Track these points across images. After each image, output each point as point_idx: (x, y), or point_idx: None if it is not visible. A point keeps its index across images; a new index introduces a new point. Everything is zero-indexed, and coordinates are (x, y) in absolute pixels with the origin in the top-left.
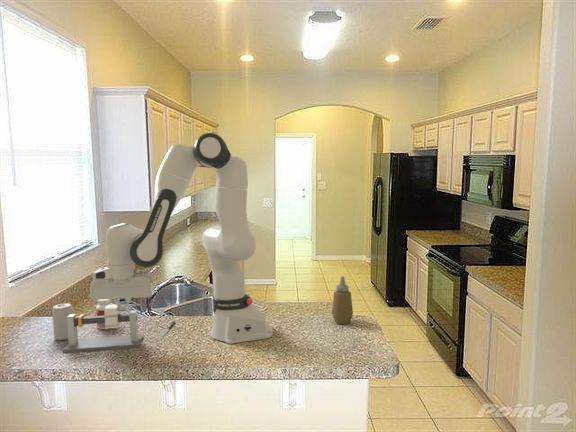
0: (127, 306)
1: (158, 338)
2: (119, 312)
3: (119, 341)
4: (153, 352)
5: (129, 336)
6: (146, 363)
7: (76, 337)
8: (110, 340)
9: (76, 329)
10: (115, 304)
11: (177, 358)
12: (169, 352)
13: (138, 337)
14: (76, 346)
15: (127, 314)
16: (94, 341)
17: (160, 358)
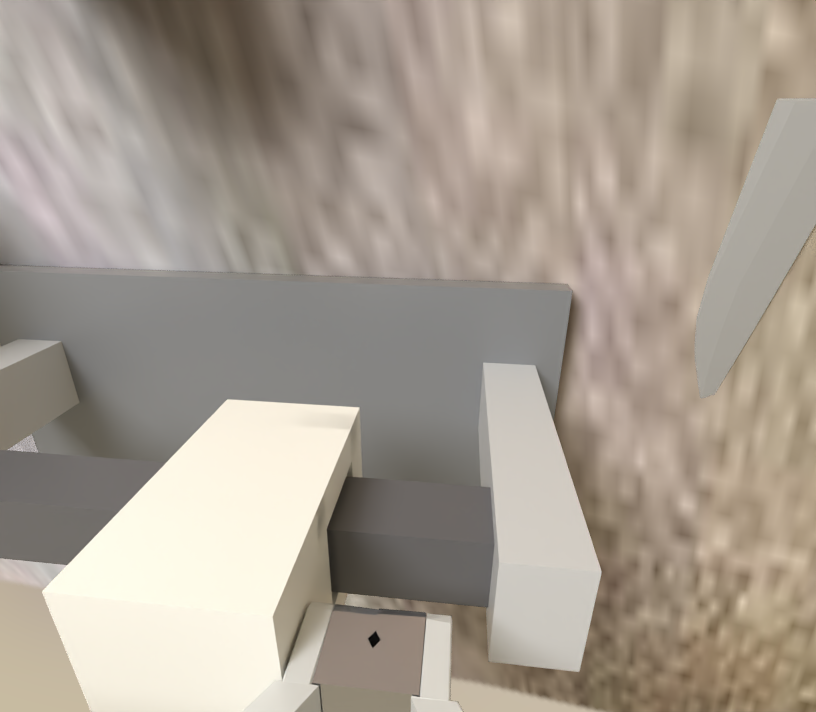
0: (450, 682)
1: (708, 347)
2: (322, 549)
3: (385, 406)
4: (647, 571)
5: (449, 315)
6: (601, 677)
7: (29, 390)
8: (306, 369)
9: None
10: (190, 616)
11: (790, 673)
12: (756, 596)
13: (534, 356)
14: (99, 421)
15: (447, 557)
16: (185, 361)
17: (685, 649)
